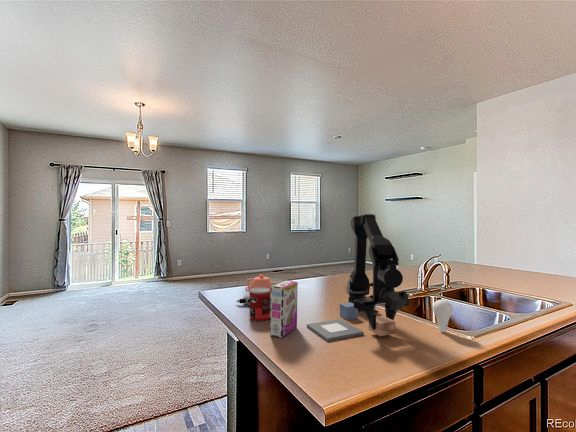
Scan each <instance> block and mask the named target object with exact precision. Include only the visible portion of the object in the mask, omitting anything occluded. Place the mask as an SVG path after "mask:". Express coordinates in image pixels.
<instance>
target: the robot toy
mask: <svg viewBox="0 0 576 432" xmlns="http://www.w3.org/2000/svg"><path fill="white" fill-rule="evenodd" d="M236 303H239V304H245V305H248V306H250V294H247V295H245V296H243V298H239V299H237V300H236ZM270 305H271V295H270Z"/></svg>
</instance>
